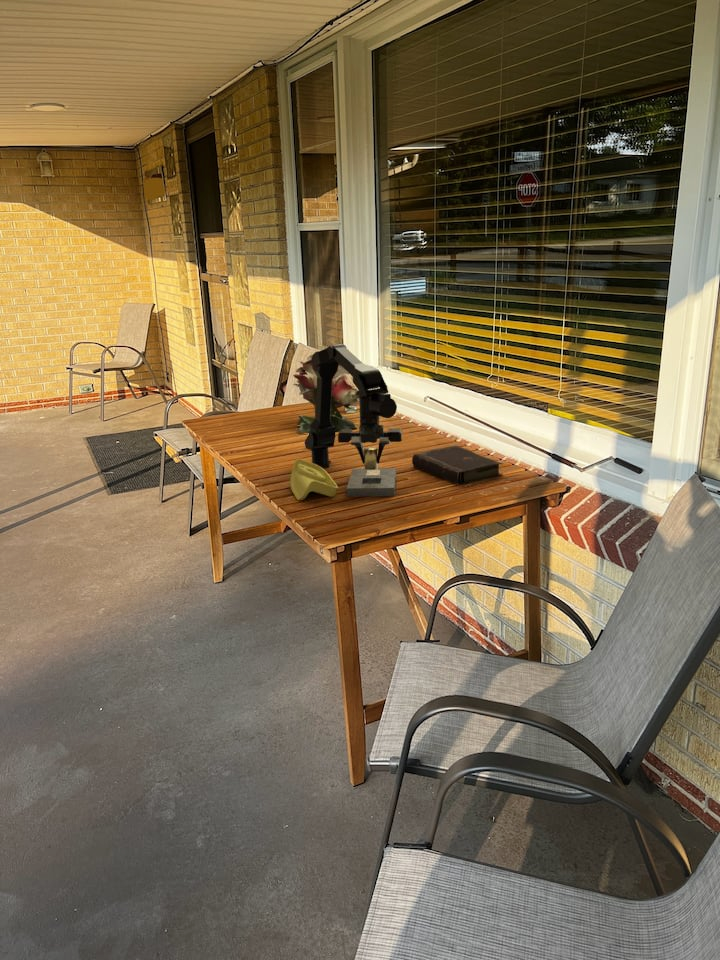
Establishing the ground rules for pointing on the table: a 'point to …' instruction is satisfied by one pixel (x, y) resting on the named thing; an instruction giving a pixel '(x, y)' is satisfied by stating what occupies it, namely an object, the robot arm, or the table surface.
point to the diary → (457, 465)
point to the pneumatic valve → (351, 409)
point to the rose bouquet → (340, 396)
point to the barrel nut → (370, 458)
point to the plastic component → (310, 480)
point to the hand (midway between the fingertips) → (371, 463)
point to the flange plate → (372, 482)
